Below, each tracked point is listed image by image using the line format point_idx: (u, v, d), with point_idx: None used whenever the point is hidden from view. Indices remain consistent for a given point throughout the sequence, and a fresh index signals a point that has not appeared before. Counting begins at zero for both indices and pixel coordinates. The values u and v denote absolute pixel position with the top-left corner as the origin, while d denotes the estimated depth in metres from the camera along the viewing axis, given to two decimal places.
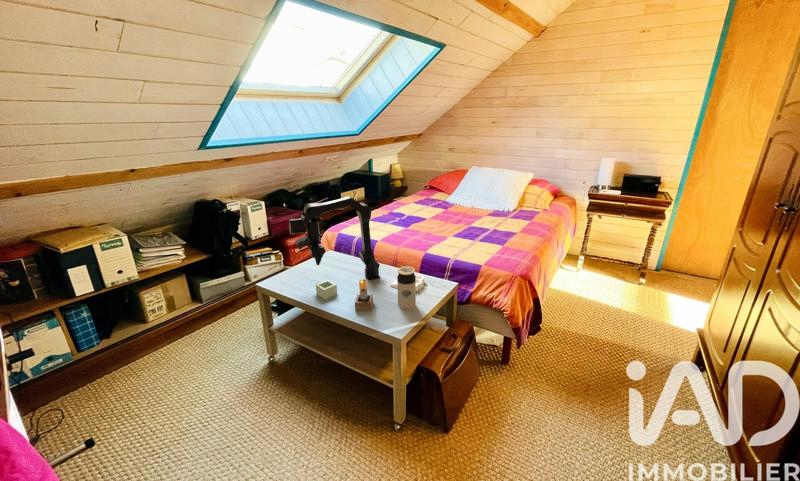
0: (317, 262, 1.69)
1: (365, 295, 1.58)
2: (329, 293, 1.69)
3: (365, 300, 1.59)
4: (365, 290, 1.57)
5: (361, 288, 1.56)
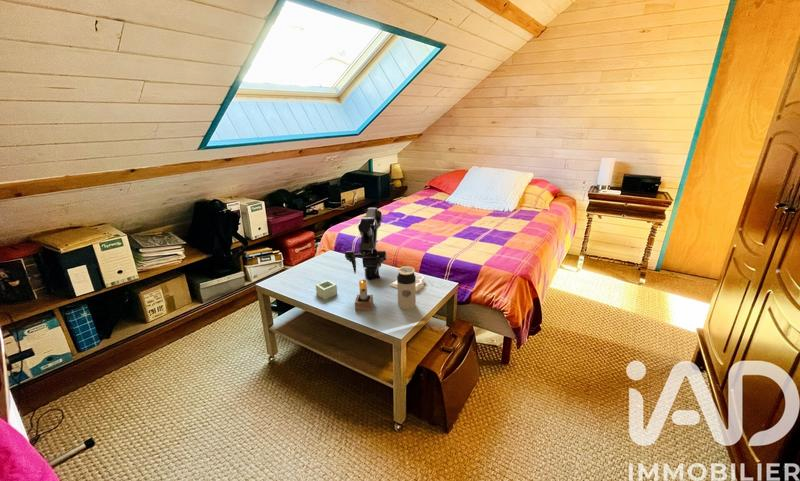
0: (376, 269, 1.64)
1: (365, 295, 1.58)
2: (329, 293, 1.69)
3: (365, 300, 1.59)
4: (365, 290, 1.57)
5: (361, 288, 1.56)
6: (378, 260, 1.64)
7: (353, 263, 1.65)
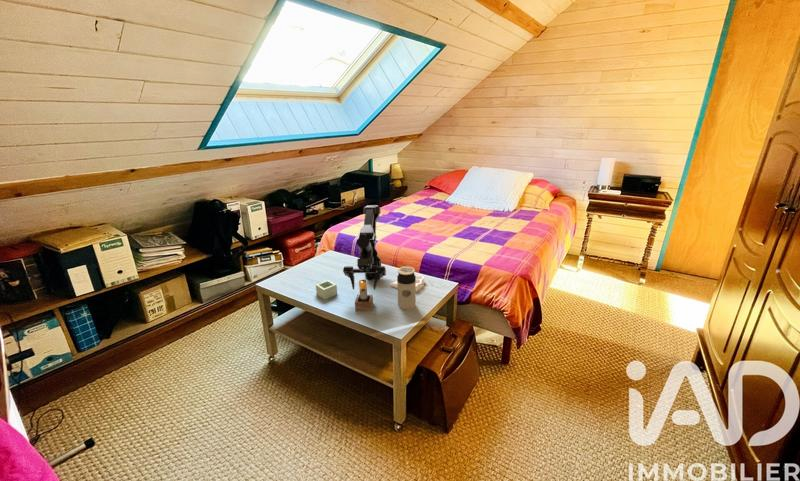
0: (375, 285, 1.60)
1: (365, 295, 1.58)
2: (329, 293, 1.69)
3: (365, 300, 1.59)
4: (365, 290, 1.57)
5: (361, 288, 1.56)
6: (377, 276, 1.60)
7: (351, 279, 1.60)
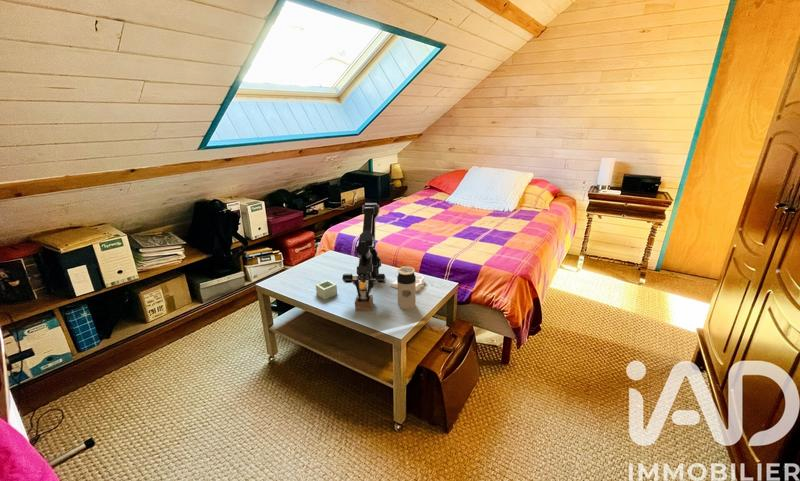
0: (368, 293, 1.58)
1: (365, 295, 1.58)
2: (329, 293, 1.69)
3: (365, 300, 1.59)
4: (365, 290, 1.57)
5: (361, 288, 1.56)
6: (370, 283, 1.58)
7: (357, 286, 1.59)
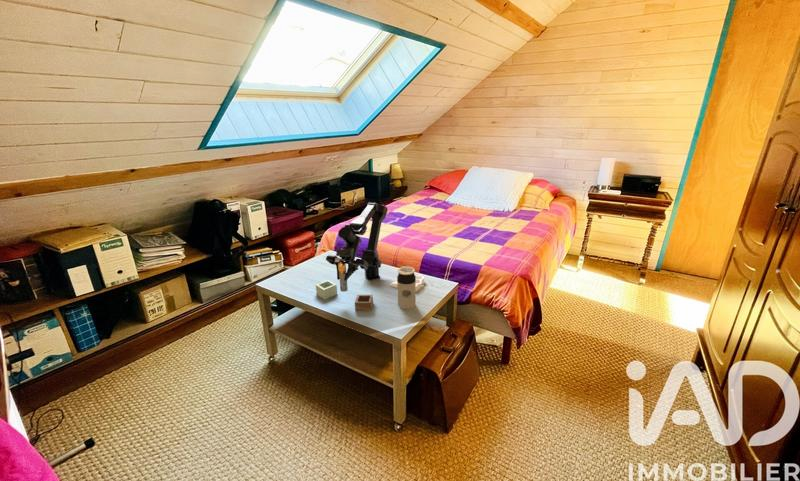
0: (347, 277, 1.58)
1: (343, 278, 1.58)
2: (329, 293, 1.69)
3: (343, 283, 1.59)
4: (343, 273, 1.57)
5: (339, 271, 1.57)
6: (350, 267, 1.58)
7: (338, 269, 1.60)
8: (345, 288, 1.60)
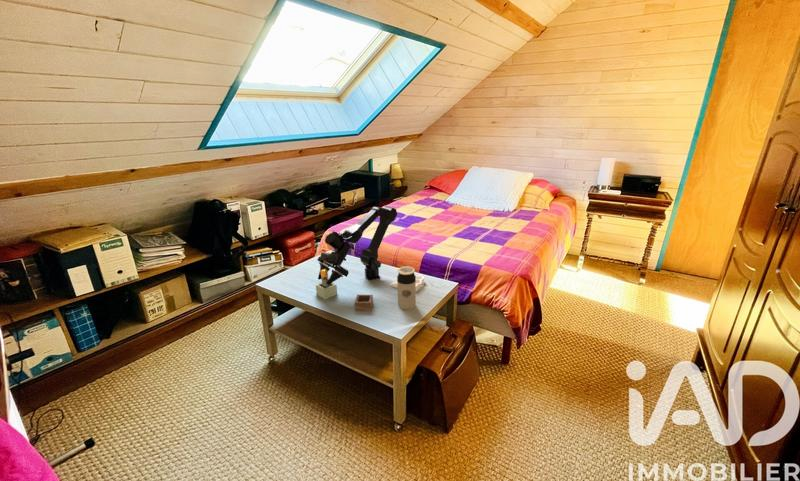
0: (329, 281, 1.66)
1: (324, 283, 1.69)
2: (329, 293, 1.69)
3: None
4: (324, 279, 1.68)
5: (321, 276, 1.68)
6: (333, 273, 1.65)
7: (320, 269, 1.72)
8: None
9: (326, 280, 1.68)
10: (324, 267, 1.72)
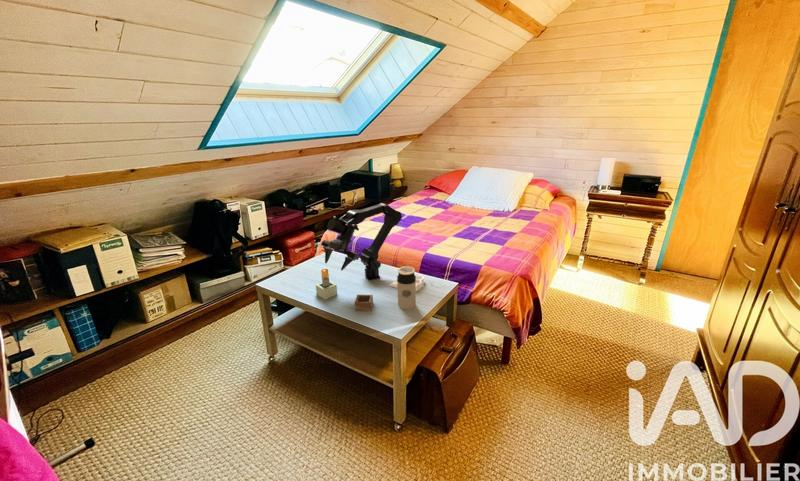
0: (343, 267, 1.70)
1: (324, 283, 1.69)
2: (329, 293, 1.69)
3: None
4: (324, 279, 1.68)
5: None
6: (346, 260, 1.69)
7: (326, 254, 1.73)
8: None
9: (327, 280, 1.68)
10: (329, 250, 1.73)
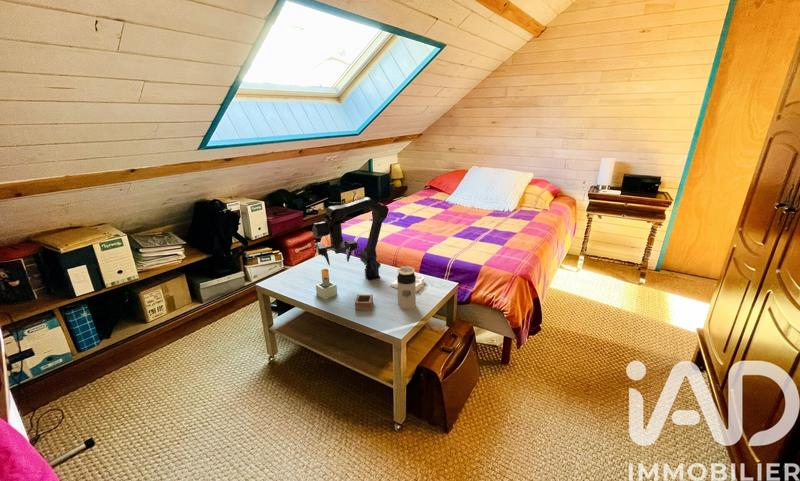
0: None
1: (324, 283, 1.69)
2: (329, 293, 1.69)
3: None
4: (324, 279, 1.68)
5: (322, 275, 1.68)
6: (350, 252, 1.74)
7: (327, 258, 1.71)
8: None
9: (327, 280, 1.68)
10: None
